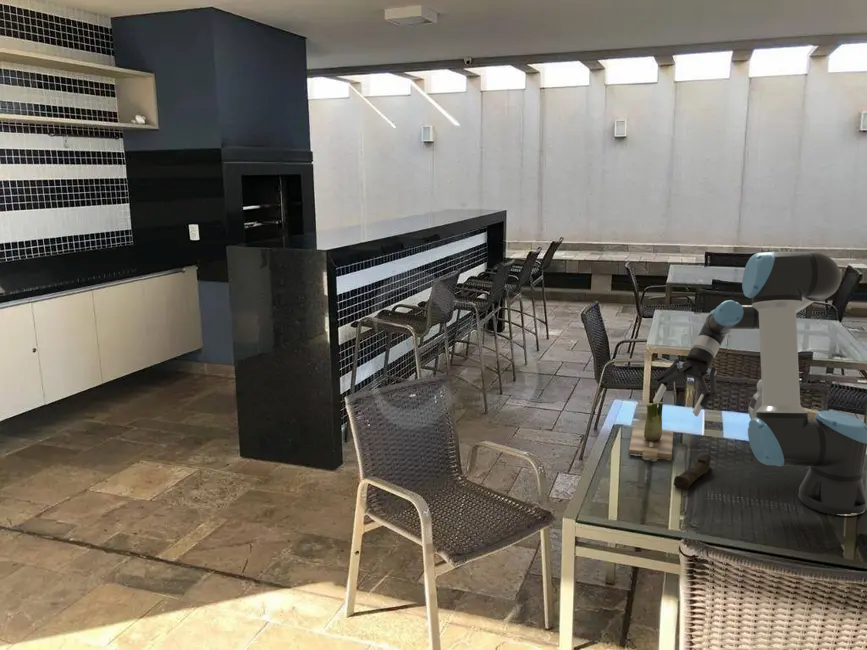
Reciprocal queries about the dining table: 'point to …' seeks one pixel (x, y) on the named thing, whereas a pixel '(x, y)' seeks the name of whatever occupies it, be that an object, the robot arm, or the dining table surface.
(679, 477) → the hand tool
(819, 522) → the dining table surface
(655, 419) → the fennel bulb
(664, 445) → the tan wooden board
